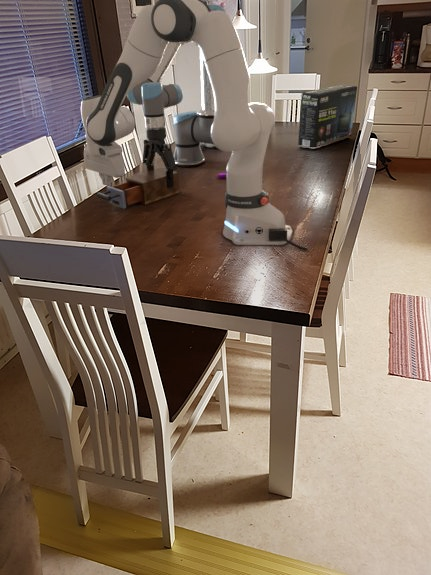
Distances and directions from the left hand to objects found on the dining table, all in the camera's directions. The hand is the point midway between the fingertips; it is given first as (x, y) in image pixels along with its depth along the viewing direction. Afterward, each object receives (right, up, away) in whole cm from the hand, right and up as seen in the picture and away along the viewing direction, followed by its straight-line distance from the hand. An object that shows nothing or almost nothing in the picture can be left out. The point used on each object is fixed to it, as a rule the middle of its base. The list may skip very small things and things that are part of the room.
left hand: (161, 184), depth 184 cm
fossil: (+21, +36, +65) cm, 77 cm away
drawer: (-12, -9, -9) cm, 17 cm away
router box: (+80, +36, +60) cm, 107 cm away
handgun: (+29, +3, +10) cm, 31 cm away
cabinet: (-3, -5, -1) cm, 5 cm away
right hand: (-17, -4, -18) cm, 26 cm away
